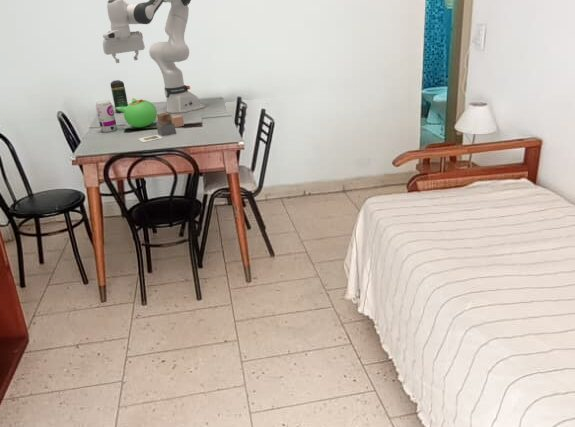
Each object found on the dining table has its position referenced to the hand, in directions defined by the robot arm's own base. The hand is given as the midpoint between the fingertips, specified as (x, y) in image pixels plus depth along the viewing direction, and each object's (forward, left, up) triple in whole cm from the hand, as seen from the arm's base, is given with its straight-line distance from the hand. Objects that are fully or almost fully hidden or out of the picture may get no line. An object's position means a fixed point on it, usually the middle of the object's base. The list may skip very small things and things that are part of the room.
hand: (127, 61), depth 266 cm
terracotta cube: (-16, +16, -34) cm, 41 cm away
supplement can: (+15, -4, -34) cm, 37 cm away
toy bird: (-1, +2, -34) cm, 34 cm away
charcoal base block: (-6, +27, -34) cm, 44 cm away
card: (+4, +31, -34) cm, 46 cm away
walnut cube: (-6, +27, -29) cm, 40 cm away
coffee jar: (-4, -47, -34) cm, 58 cm away
